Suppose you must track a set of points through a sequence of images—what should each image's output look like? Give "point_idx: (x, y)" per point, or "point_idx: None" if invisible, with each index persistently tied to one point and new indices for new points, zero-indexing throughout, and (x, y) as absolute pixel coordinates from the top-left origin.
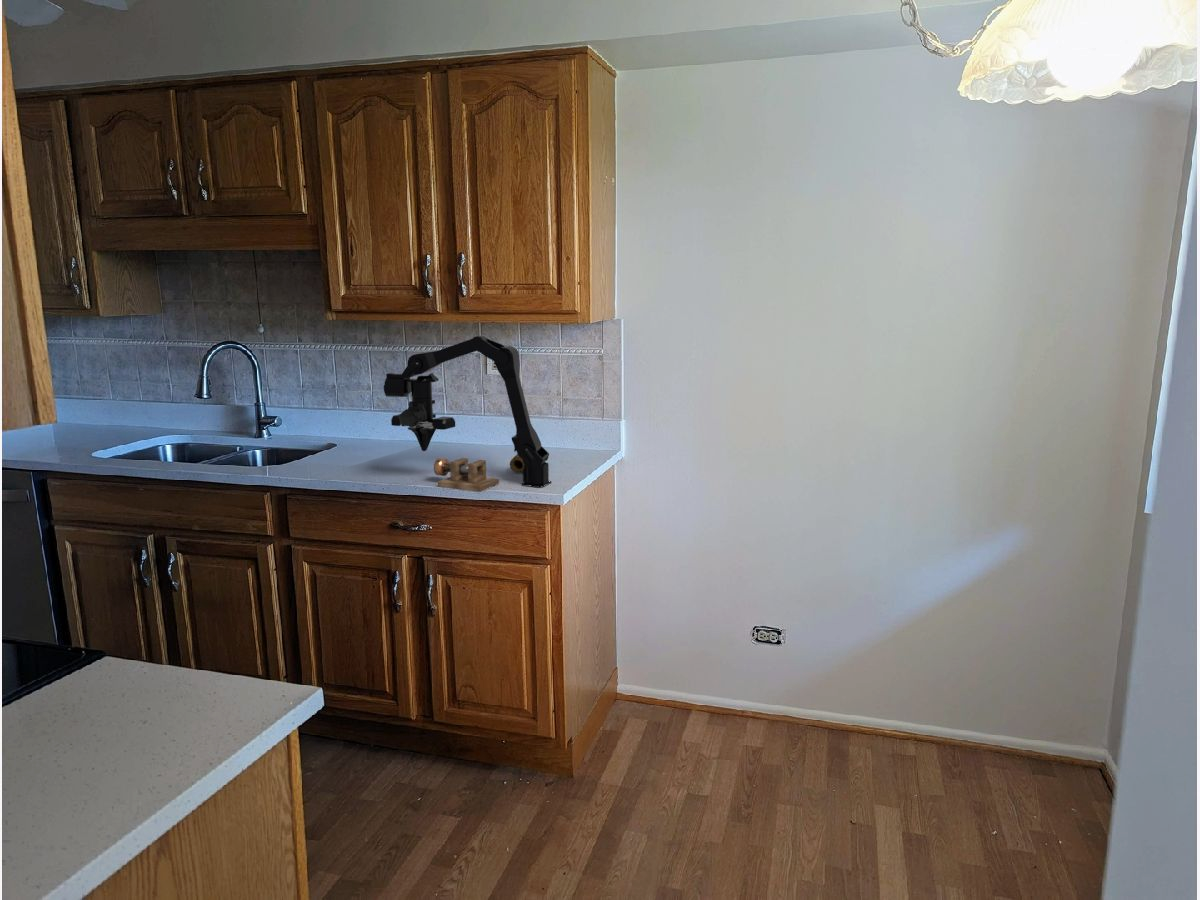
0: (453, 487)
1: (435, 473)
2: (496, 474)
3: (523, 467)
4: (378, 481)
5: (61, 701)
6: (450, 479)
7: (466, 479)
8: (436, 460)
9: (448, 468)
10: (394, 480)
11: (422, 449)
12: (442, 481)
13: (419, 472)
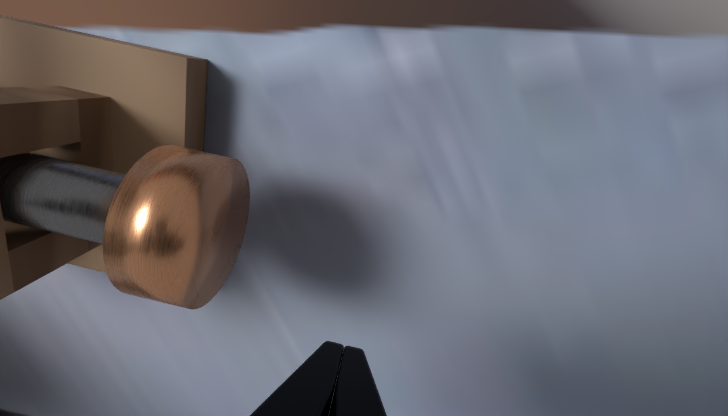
0: (75, 31)
1: (240, 166)
2: (79, 391)
3: None
4: (720, 116)
5: None
6: (140, 144)
7: None
8: (175, 216)
9: (94, 170)
10: (594, 172)
11: (350, 355)
12: (155, 68)
13: (492, 387)
